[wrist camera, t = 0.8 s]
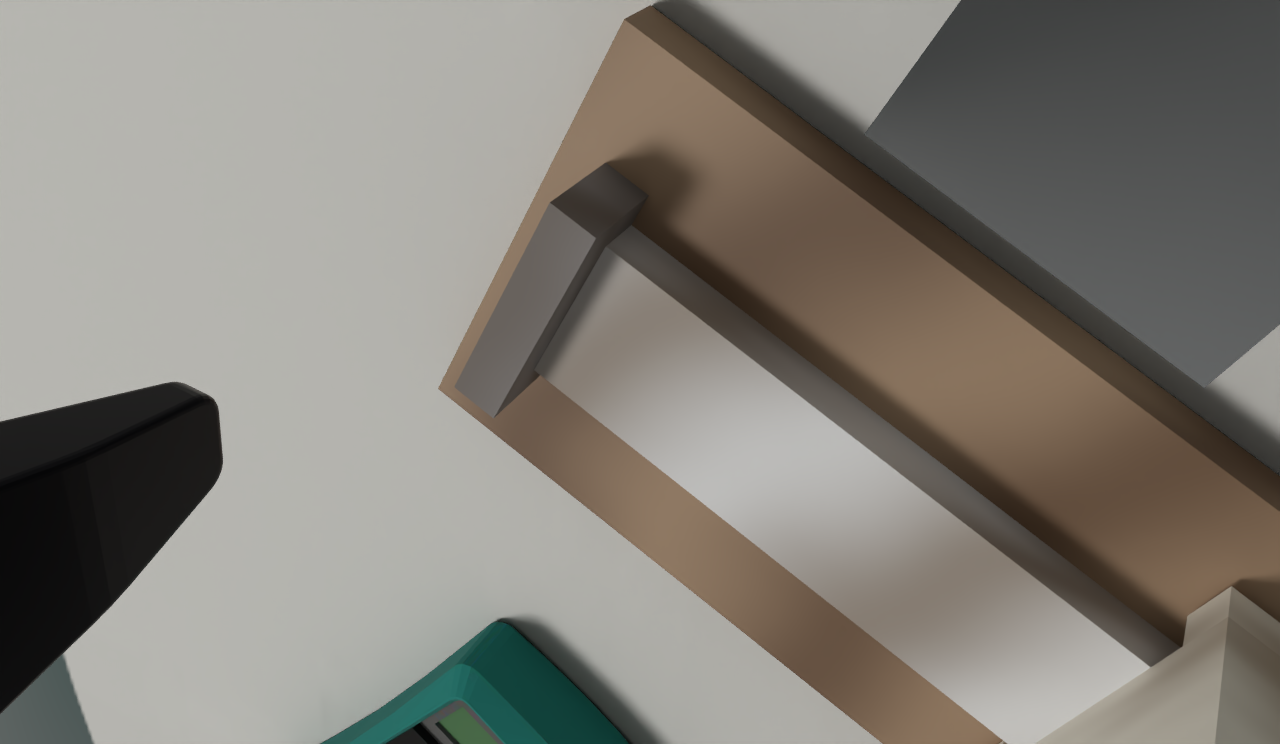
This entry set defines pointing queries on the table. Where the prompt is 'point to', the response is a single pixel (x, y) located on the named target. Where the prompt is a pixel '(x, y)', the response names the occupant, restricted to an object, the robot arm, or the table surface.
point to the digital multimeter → (488, 701)
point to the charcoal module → (1115, 155)
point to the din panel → (868, 432)
